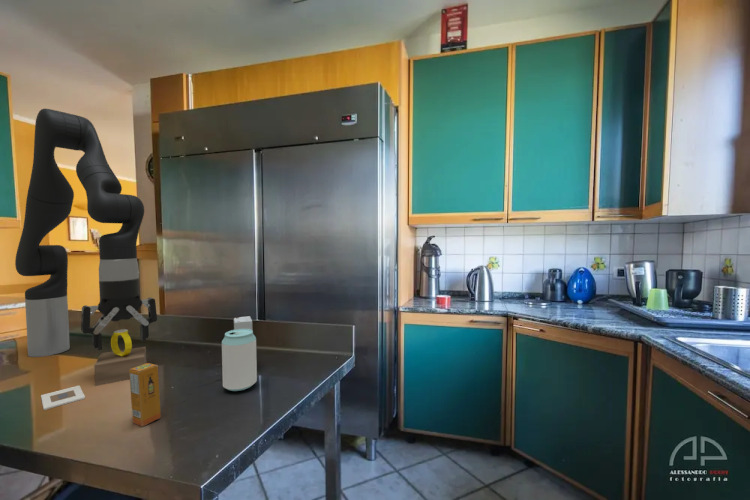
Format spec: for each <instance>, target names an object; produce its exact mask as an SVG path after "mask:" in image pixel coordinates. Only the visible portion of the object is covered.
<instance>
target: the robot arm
mask: <svg viewBox="0 0 750 500" xmlns="http://www.w3.org/2000/svg"><path fill="white" fill-rule="evenodd" d="M34 123H35V125H34V140H33V143H34V145H33V159H32V167H31V174H30V180H29V185H28V190H27V194H26V199H25V200H26V201H25V202H26V203H25V212H24V221H23V226H22V227H23V228H22V231H21V235H20V239H19V241H18V246H17V248H16V249H17V250H16V254H15V259H14V260H15V261H14V262H15V263H14V265H15V270H16V271H17V273H18V274H19V275H21V276H22V277H38V276H39V277H40V276H49V275H50V276H49V278H48V279H47V280H45V281H44V282H42V283H39V284H38V285H35V286H33V287H29V288H28V289H26V290H25V292H24V303H25V323H26V324H25V326H26V341H27V342H26V343H27V345H26V346H27V356H28V357H30V358H40V357H42V358H43V357H47V356H48V357H49V356H53V355H57V354H60V353H64V352H66V351H69V350H70V348H71V347H70V346H71V345H70V328H69V327H70V326H69V325H70V324H69V304H68V301H69V300H68V269H69V266H68V264H69V261H68V259H69V258H68V257H69V256H68V251H67V250H66V247H64V246H63V245H60V244H41V243H42V240H43V239H44V238H45V237H46V236H47V235H48V234H49V233H50V232H51V231H53V230H54V229H55V228H57V227H58V226H60V225H61V224H62V223H63V222H64V221H65V220H67V218H68V217H69V216H70V215H71V213H72V208H73V203H74V197H75V192H74V189H73V188H72V185H71V184H70V182H69V181H68V179H67V178H66V177H65V175H64V173H63V172H62V171H61V170H60V167H59V166H58V164H57V162H56V158H55V149H57V148H59V149H66V150H72V151H73V150H74V151H79V152H80V151H82V152H83V155H82V156H81V157H80V158H79V160H78V162H76V167H75V172H76V176H77V179H78V180H79V182H80V183H81V185H82V187H83V189H84V190H85V195H86V199H87V200H86V201H87V202H86V203H87V204H86V205H87V206H86V208H87V209H86V210H87V214H88V215H89V217H90V218H91V219H92V220H93V221H95V222H98V223H100V224H101V223H102V224H122V225H121V226H120V229H119V230H118V231H116V232H112V233H105V234H103V235H101V236H100V237H99V239H98V248H99V250H98V251H99V252H98V253H99V265H98V284H99V286H98V287H99V303H98V304H97V305H83V306H82V307H81V315H80V316H81V321H80V323H81V324H80V330H81V332H82V333H83V334H90V335H91V336H92V339H91V340H92V346H93V348H94V349H96V350H97V351H102V350H103V342H102V337H103V336H102V333H101V332H102V330H104V328H105V327H106V326H107V325H108V324H109V323H110V322H118V321H122V320H126V321H127V320H131V319H132V318H134V319H135V320H137V322H139V323H140V325H139V334H140V335H139V338H140V339H139V340H140V341H141V342H145V341H146V340H147V338H149V333H150V332H149V325H151V324H152V323H155V322H157V320H158V315H157V305H156V304H157V303H156V299H155V298H152V297H147V298H145V299H141V297H140V296H141V295H140V271H139V270H140V269H139V263H138V250H137V249H138V248H137V241H138V237H139V236H138V235H139V233H140V229H141V225H142V223H143V219H144V216H145V205H144V203H143V201H142V200H141V198H140V197H138V196H136V195H134V194H133V195H132V194H126V193H122V190H123V189H122V184H121V183H120V180H119V179H118V177H117V175H116V174H115V173H114V171H113V170H112V168H111V166H110V164H109V163H108V161H107V158H106V155H105V152H104V150H103V149H104V148H103V146H102V144H101V143H102V142H101V140H100V139H99V135H98V132H97V130H96V128H95V126H94V124H93V123H92V121H91V120H89V119H88V118H86V117H84V116H80V115H77V114H72V113H68V112H63V111H59V110H56V109H50V108H42V109H40V110H39V111H38V113H37V115H36V117H35V122H34ZM143 305H144V307H146V308H147V312H148V313H147V314H148V317H144V316H143V315H142V314H141V313H139V310H140V308H141V307H142V306H143ZM96 311H99V312H100V314H102V315H101V316H100V318H99V319H98V320H97V322H96V323H95V325H94V326H91V316H94V315H95V313H96Z"/></svg>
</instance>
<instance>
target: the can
mask: <svg viewBox="0 0 750 500" xmlns="http://www.w3.org/2000/svg"><path fill="white" fill-rule="evenodd" d="M221 365H222V366H221V369H222V387H223V388H224V389H226V390H228V391H232V392H238V391H245V390H246V389H249V388H251V387H252V386H253V385H254V384H256V383H257V380H258V371H257V370H258V366H257V337H256V335H255V334H254V330H253V331H252V330H250V329H236V330H234V329H231V330H229V331H226V332H225V333H224V337H223V339H222V340H221Z"/></svg>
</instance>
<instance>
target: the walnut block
mask: <svg viewBox="0 0 750 500" xmlns="http://www.w3.org/2000/svg"><path fill="white" fill-rule="evenodd" d="M120 351H121V352H124V351H125V349H120ZM146 363H147V346H139V347H134V348H133V347H132V349H131V352H130V353H129V354H128V355H126V356H123V357H122V356H119V355H116V354H114V352H113V351H109V352H108V351H107V352H101V353H100V355H99V357H98V358H97V359H96V362H95V363H94V386H95V387H97V386H104V385H107V384H113V383H114V384H115V383H119V382H124V381H130V375H129V369H132V368H135V367H138V366H140V365H143V364H146Z"/></svg>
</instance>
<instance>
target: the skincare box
mask: <svg viewBox="0 0 750 500" xmlns="http://www.w3.org/2000/svg"><path fill="white" fill-rule="evenodd" d="M236 329H250V330H252V331H253V332H254V330H253V320H252V318H251V316H250V315H249V316H239V317H234V318H233V330H236Z"/></svg>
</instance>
